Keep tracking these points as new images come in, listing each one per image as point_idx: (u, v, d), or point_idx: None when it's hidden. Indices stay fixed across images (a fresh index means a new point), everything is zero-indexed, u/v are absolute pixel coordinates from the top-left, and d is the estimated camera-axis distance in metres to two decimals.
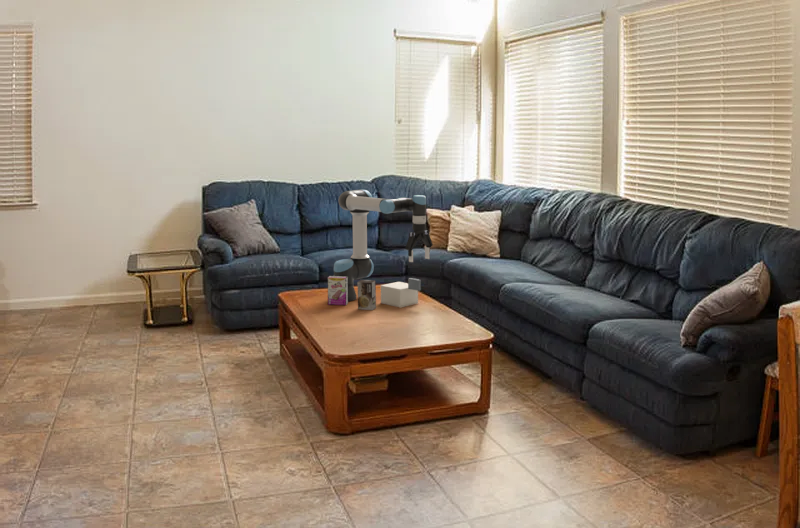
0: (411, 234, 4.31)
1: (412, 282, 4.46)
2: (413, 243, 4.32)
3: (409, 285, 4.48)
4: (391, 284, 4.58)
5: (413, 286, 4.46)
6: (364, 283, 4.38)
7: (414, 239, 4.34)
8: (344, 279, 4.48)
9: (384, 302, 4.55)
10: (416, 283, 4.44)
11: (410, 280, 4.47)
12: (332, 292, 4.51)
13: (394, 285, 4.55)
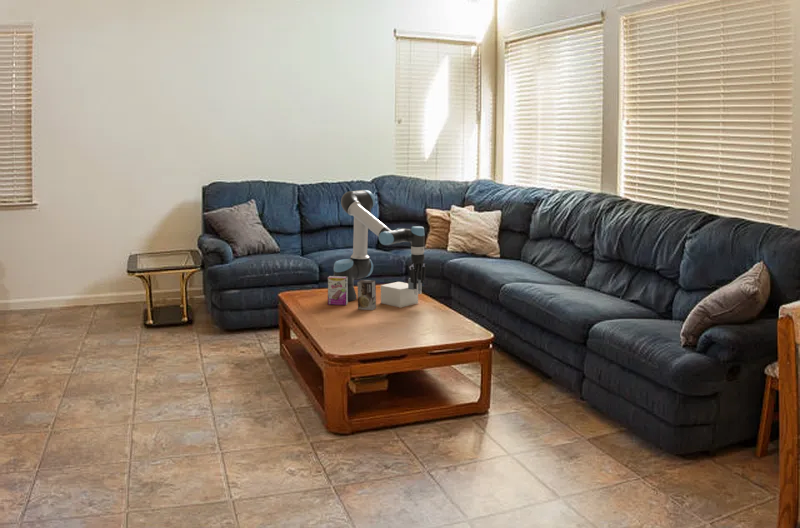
0: (410, 268, 4.38)
1: None
2: (415, 276, 4.41)
3: (409, 285, 4.48)
4: (391, 284, 4.58)
5: None
6: (364, 283, 4.38)
7: (415, 271, 4.41)
8: (344, 279, 4.48)
9: (384, 302, 4.55)
10: None
11: None
12: (332, 292, 4.51)
13: (394, 285, 4.55)
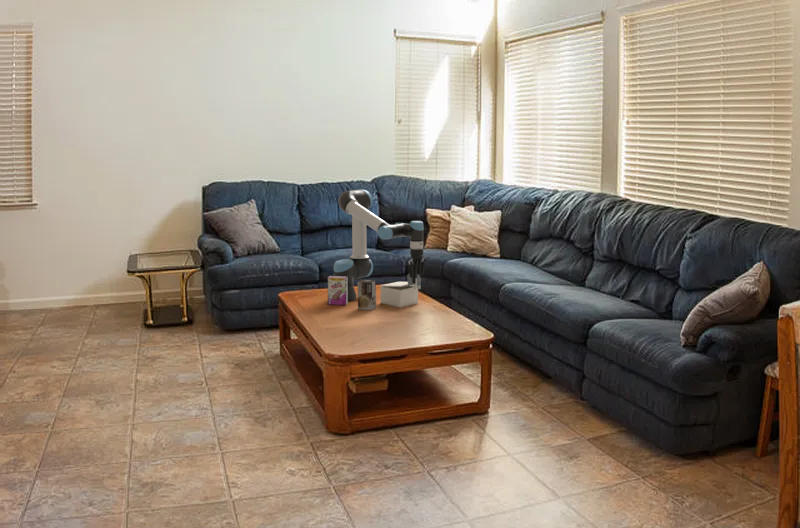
0: (409, 263, 4.38)
1: (411, 278, 4.46)
2: (414, 270, 4.41)
3: (408, 281, 4.48)
4: (391, 283, 4.58)
5: None
6: (364, 283, 4.38)
7: (414, 266, 4.41)
8: (344, 279, 4.48)
9: (384, 302, 4.55)
10: None
11: (409, 276, 4.47)
12: (332, 292, 4.51)
13: (394, 284, 4.55)
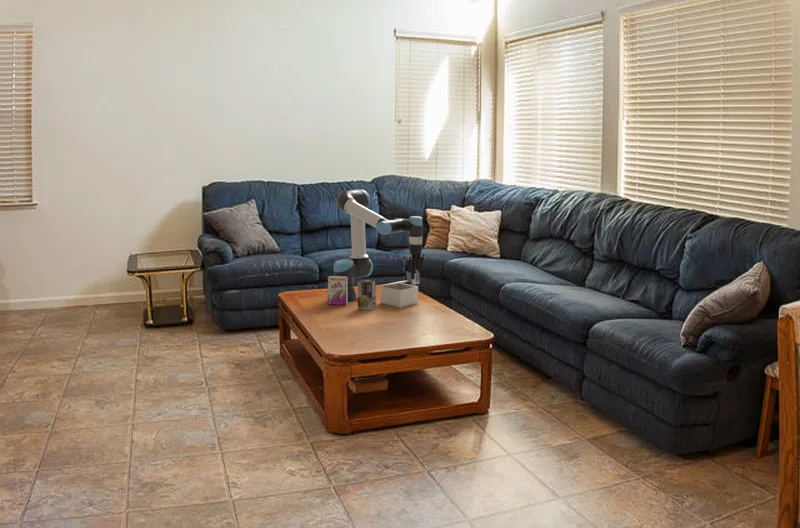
0: (408, 258, 4.38)
1: (410, 274, 4.46)
2: (413, 266, 4.41)
3: (408, 278, 4.48)
4: (391, 283, 4.58)
5: None
6: (364, 283, 4.38)
7: (413, 261, 4.42)
8: (344, 279, 4.48)
9: (384, 302, 4.55)
10: None
11: (408, 272, 4.47)
12: (332, 292, 4.51)
13: None
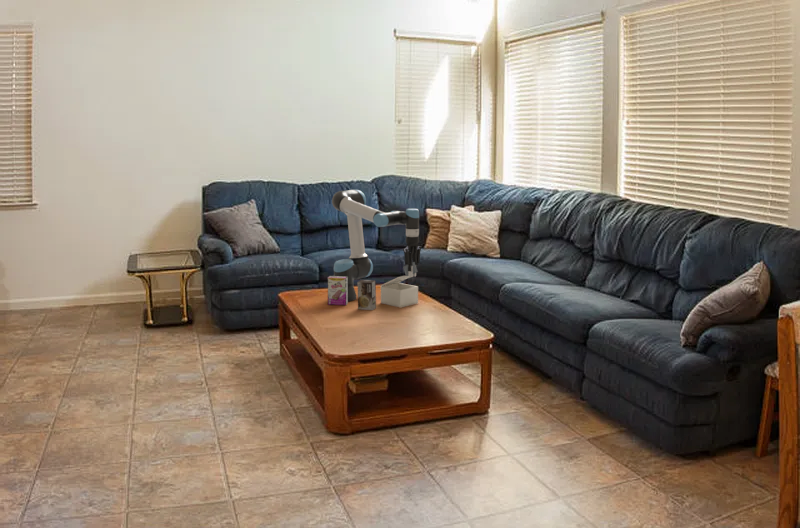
0: (405, 251, 4.39)
1: (407, 267, 4.47)
2: (410, 258, 4.42)
3: (406, 272, 4.48)
4: (390, 282, 4.58)
5: None
6: (364, 283, 4.38)
7: (409, 253, 4.42)
8: (344, 279, 4.48)
9: (384, 302, 4.55)
10: None
11: (405, 267, 4.48)
12: (332, 292, 4.51)
13: (393, 281, 4.55)
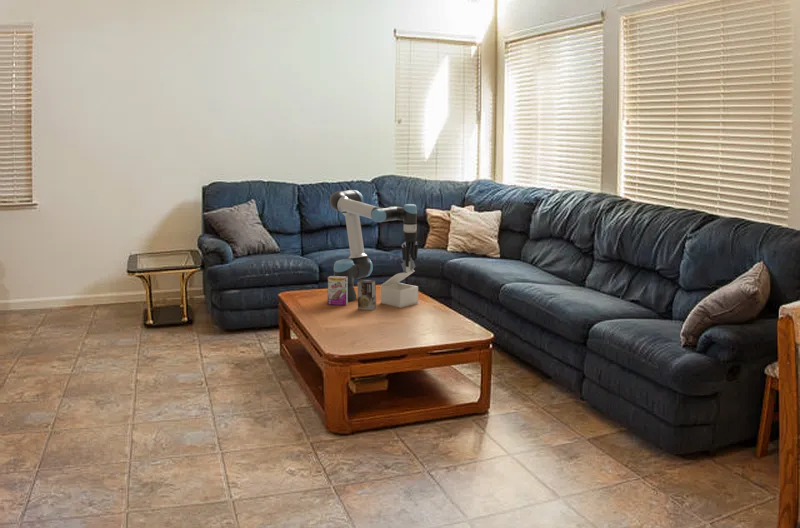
0: (403, 246, 4.40)
1: (405, 264, 4.48)
2: (408, 254, 4.43)
3: (404, 269, 4.49)
4: (390, 281, 4.58)
5: None
6: (364, 283, 4.38)
7: (407, 249, 4.43)
8: (344, 279, 4.48)
9: (384, 302, 4.55)
10: None
11: (403, 263, 4.49)
12: (332, 292, 4.51)
13: (392, 279, 4.55)
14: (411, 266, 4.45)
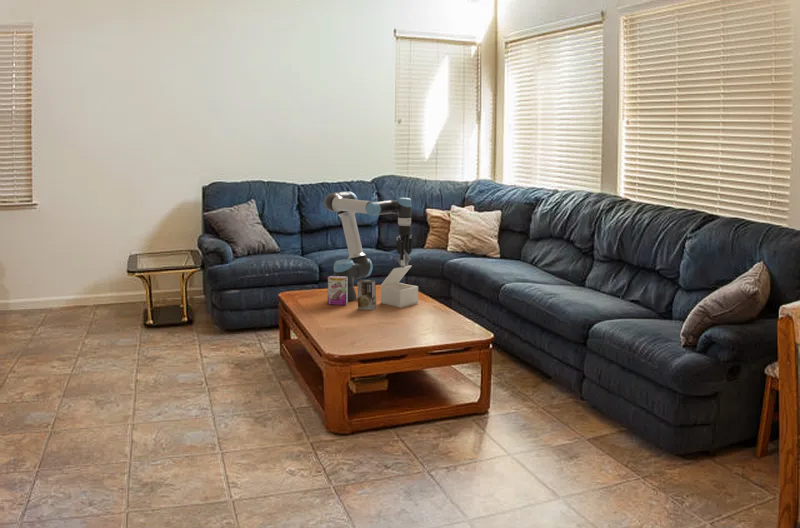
0: (397, 239, 4.42)
1: None
2: (402, 247, 4.45)
3: None
4: None
5: None
6: (364, 283, 4.38)
7: (402, 242, 4.46)
8: (344, 279, 4.48)
9: (384, 302, 4.55)
10: None
11: (398, 259, 4.51)
12: (332, 292, 4.51)
13: None
14: (407, 259, 4.46)
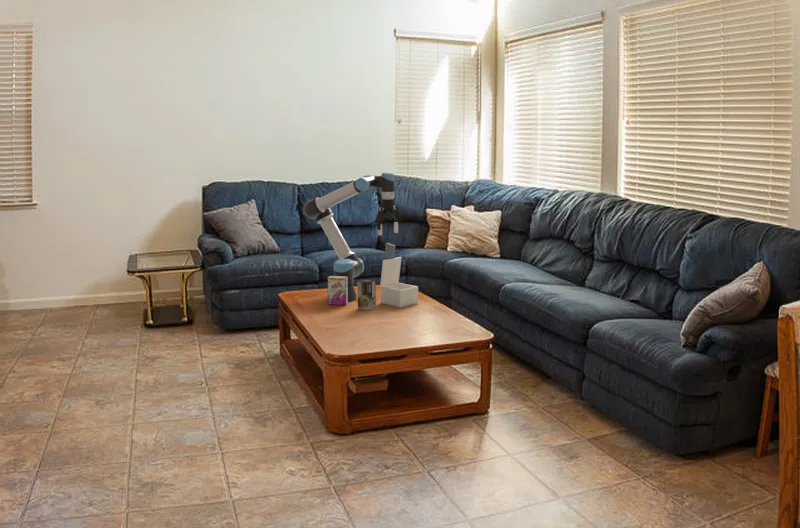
0: (380, 209, 4.58)
1: (387, 251, 4.57)
2: (382, 217, 4.59)
3: (389, 256, 4.56)
4: None
5: (390, 251, 4.55)
6: (364, 283, 4.38)
7: (383, 214, 4.60)
8: (344, 279, 4.48)
9: (384, 302, 4.55)
10: (387, 246, 4.56)
11: (385, 253, 4.58)
12: (332, 292, 4.51)
13: None
14: (391, 247, 4.54)
